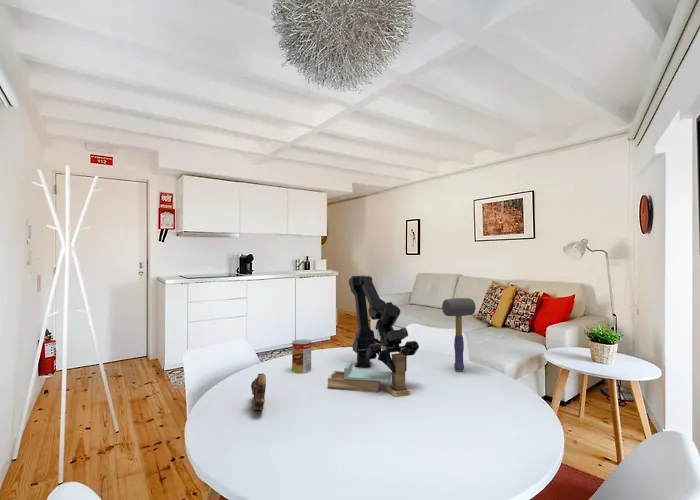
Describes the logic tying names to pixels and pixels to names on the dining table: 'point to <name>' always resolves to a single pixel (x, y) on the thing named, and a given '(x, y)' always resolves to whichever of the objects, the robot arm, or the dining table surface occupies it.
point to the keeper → (398, 392)
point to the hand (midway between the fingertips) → (400, 371)
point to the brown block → (398, 372)
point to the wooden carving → (259, 391)
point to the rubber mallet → (458, 324)
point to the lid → (366, 374)
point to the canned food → (301, 356)
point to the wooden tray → (351, 383)
